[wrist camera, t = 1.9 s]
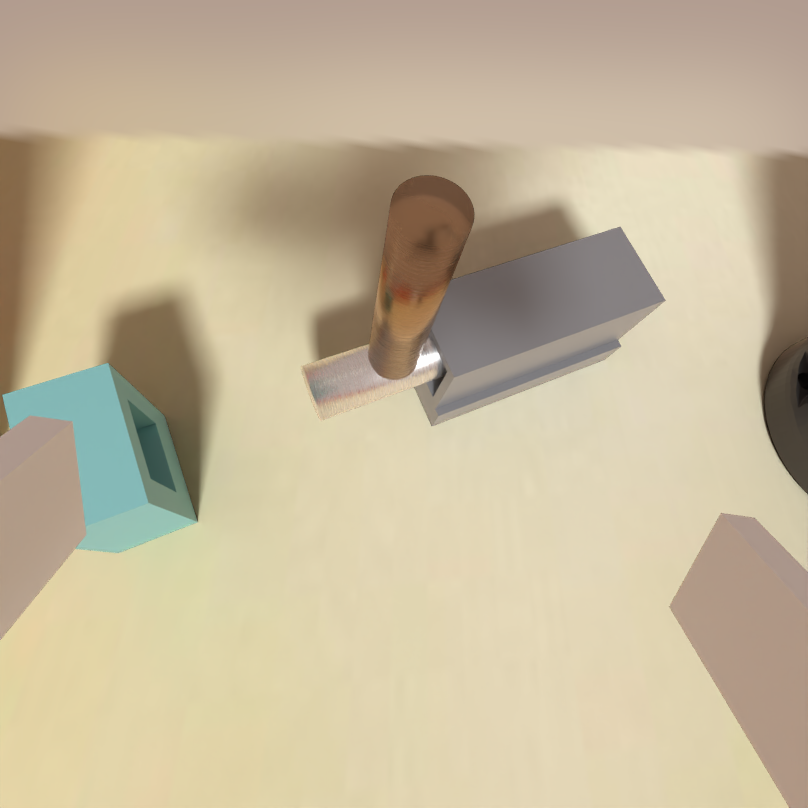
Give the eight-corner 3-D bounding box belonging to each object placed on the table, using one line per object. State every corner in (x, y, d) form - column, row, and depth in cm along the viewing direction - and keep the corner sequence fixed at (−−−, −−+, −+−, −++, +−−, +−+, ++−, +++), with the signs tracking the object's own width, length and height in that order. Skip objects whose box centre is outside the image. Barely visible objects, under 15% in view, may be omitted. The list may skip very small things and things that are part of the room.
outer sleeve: (604, 359, 37) (670, 307, 30) (431, 426, 34) (458, 385, 27) (563, 286, 39) (616, 220, 32) (394, 343, 35) (409, 283, 28)
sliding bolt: (581, 332, 34) (758, 158, 20) (321, 427, 29) (310, 291, 15) (558, 291, 34) (714, 96, 20) (302, 378, 30) (275, 207, 16)
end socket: (197, 522, 30) (148, 503, 22) (117, 553, 29) (36, 544, 21) (164, 416, 32) (108, 362, 24) (88, 441, 31) (2, 395, 23)
